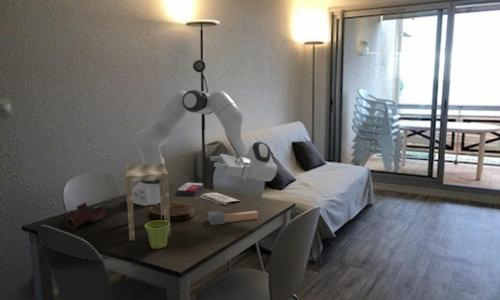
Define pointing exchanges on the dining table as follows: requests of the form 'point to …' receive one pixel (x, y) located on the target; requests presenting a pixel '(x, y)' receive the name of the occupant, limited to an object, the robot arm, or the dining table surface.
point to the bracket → (84, 215)
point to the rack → (147, 174)
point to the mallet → (230, 217)
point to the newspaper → (219, 198)
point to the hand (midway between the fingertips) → (212, 161)
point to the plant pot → (157, 233)
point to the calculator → (190, 189)
